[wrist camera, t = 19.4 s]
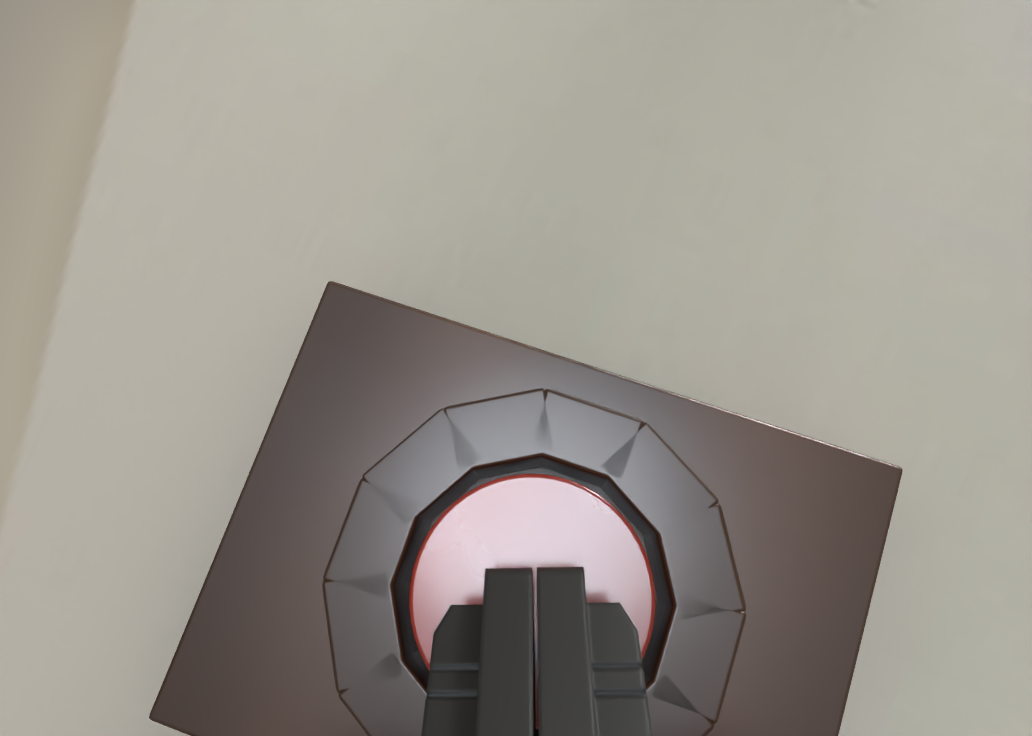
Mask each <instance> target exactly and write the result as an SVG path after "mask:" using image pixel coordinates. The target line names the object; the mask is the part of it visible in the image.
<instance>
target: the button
mask: <svg viewBox="0 0 1032 736" xmlns="http://www.w3.org/2000/svg"><path fill="white" fill-rule="evenodd" d="M537 567H583V568H584V575H585V587H586V600H587V603H613V602H620V604H621V605H622V607H623V608H624V610H625V611H626V613H627V614H628V616H629V617H630V619H631V621H632V622H633V624H634V625H635V627H636V628H637V630H638V635H639V642H640V649H641V656H642V659H643V658H644V656H645V653H646V650H647V647H648V645H649V642H650V639H651V634H652V630H653V626H654V618H655V608H656V603H655V586H654V580H653V574H652V570H651V567H650V563H649V560H648V557H647V554H646V552H645V550H644V547H643V545H642V543H641V541H640V539H639V538H638V536H637V534H636V533H635V531H634V529H633V528H632V526H631V525H630V524H629V522H628V521H627V520H626V519H625V517H624V516H623V515H622V514H621V513H620V512H619V511H618V510H617V509H616V508H615V507H614V506H613V505H612V504H611V503H610V502H608V501H607V500H606V499H604V498H603V497H602V496H600V495H599V494H598V493H596V492H594V491H592V490H591V489H589V488H587V487H586V486H583V485H581V484H579V483H576V482H574V481H571V480H568V479H565V478H561V477H557V476H552V475H544V474H519V475H511V476H506V477H502V478H499V479H495V480H492V481H490V482H487V483H485V484H482V485H480V486H478V487H476V488H474V489H473V490H471V491H469V492H467V493H466V494H464V495H463V496H462V497H460V498H459V499H458V500H456V501H455V502H454V503H453V504H452V505H451V506H450V507H449V508H448V509H446V510H445V511H444V512H443V513H442V514H441V516H440V517H439V518H438V520H437V521H436V522H435V523H434V525H433V526H432V527H431V529H430V531H429V532H428V534H427V536H426V537H425V539H424V541H423V543H422V545H421V548H420V550H419V552H418V554H417V557H416V560H415V564H414V567H413V571H412V576H411V582H410V590H409V610H410V621H411V626H412V630H413V635H414V639H415V641H416V644H417V647H418V650H419V653H420V655H421V657H422V659H423V661H424V663H425V665H426V667H427V668H428V670H429V671H430V658H431V650H432V642H433V633H434V632H435V630H436V628H437V627H438V625H439V623H440V622H441V620H442V618H443V617H444V615H445V613H446V612H447V610H448V609H449V607H450V605H475V604H483V594H484V578H485V569H486V568H532V570H533V603H534V639H535V713H536V729H537V730H539V711H538V638H537Z"/></svg>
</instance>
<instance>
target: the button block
mask: <svg viewBox="0 0 1032 736" xmlns="http://www.w3.org/2000/svg"><path fill="white" fill-rule="evenodd" d="M519 474H544V475H552V476H557V477H561V478H565V479H568V480H571V481H574V482H576V483H579V484H581V485H583V486H586V487H587V488H589V489H591V490H592V491H594V492H596V493H598V494H599V495H600V496H602V497H603V498H604V499H606V500H607V501H608V502H610V503H611V504H612V505H613V506H614V507H615V508H616V509H617V510H618V511H619V512H620V513H621V514H622V515H623V516H624V517H625V519H626V520H627V521H628V522H629V524H630V525H631V526H632V528H633V529H634V531H635V533H636V534H637V536H638V538H639V539H640V541H641V543H642V545H643V547H644V550H645V552H646V554H647V557H648V560H649V563H650V567H651V570H652V574H653V580H654V586H655V603H656V608H655V618H654V626H653V630H652V634H651V639H650V642H649V645H648V647H647V650H646V653H645V656H644V658H643V659H642V665H643V670H644V677H645V684H646V695H647V698H648V705H649V712H650V719H651V726H652V733H653V736H838V734H839V730H840V726H841V722H842V717H843V713H844V709H845V705H846V701H847V697H848V693H849V689H850V685H851V681H852V676H853V672H854V668H855V664H856V660H857V656H858V652H859V648H860V644H861V639H862V635H863V631H864V627H865V623H866V619H867V615H868V611H869V607H870V603H871V598H872V594H873V590H874V586H875V582H876V578H877V574H878V570H879V566H880V561H881V557H882V553H883V549H884V545H885V541H886V537H887V533H888V529H889V525H890V520H891V516H892V512H893V508H894V504H895V500H896V496H897V492H898V488H899V483H900V479H901V475H902V468H900V467H899V466H896V465H893V464H890V463H887V462H884V461H881V460H878V459H874V458H871V457H868V456H865V455H862V454H859V453H856V452H853V451H850V450H847V449H844V448H841V447H838V446H835V445H832V444H829V443H826V442H822V441H819V440H816V439H813V438H810V437H807V436H804V435H801V434H798V433H795V432H792V431H789V430H786V429H783V428H780V427H777V426H773V425H770V424H767V423H764V422H761V421H758V420H755V419H752V418H749V417H746V416H743V415H740V414H737V413H734V412H731V411H728V410H725V409H721V408H718V407H715V406H712V405H709V404H706V403H703V402H700V401H697V400H694V399H691V398H688V397H685V396H682V395H679V394H676V393H673V392H669V391H666V390H663V389H660V388H657V387H654V386H651V385H648V384H645V383H642V382H639V381H636V380H633V379H630V378H627V377H624V376H621V375H617V374H614V373H611V372H608V371H605V370H602V369H599V368H596V367H593V366H590V365H587V364H584V363H581V362H578V361H575V360H572V359H568V358H565V357H562V356H559V355H556V354H553V353H550V352H547V351H544V350H541V349H538V348H535V347H532V346H529V345H526V344H523V343H520V342H516V341H513V340H510V339H507V338H504V337H501V336H498V335H495V334H492V333H489V332H486V331H483V330H480V329H477V328H474V327H471V326H468V325H464V324H461V323H458V322H455V321H452V320H449V319H446V318H443V317H440V316H437V315H434V314H431V313H428V312H425V311H422V310H419V309H415V308H412V307H409V306H406V305H403V304H400V303H397V302H394V301H391V300H388V299H385V298H382V297H379V296H376V295H373V294H370V293H367V292H363V291H360V290H357V289H354V288H351V287H348V286H345V285H342V284H339V283H336V282H333V281H330V282H328V284H327V286H326V288H325V291H324V293H323V295H322V298H321V300H320V303H319V305H318V308H317V310H316V312H315V315H314V317H313V320H312V322H311V325H310V327H309V329H308V332H307V334H306V337H305V339H304V342H303V344H302V346H301V349H300V351H299V354H298V356H297V359H296V361H295V363H294V366H293V368H292V371H291V373H290V376H289V378H288V380H287V383H286V385H285V388H284V390H283V393H282V395H281V397H280V400H279V402H278V405H277V407H276V409H275V412H274V414H273V417H272V419H271V422H270V424H269V426H268V429H267V431H266V434H265V436H264V439H263V441H262V443H261V446H260V448H259V451H258V453H257V456H256V458H255V460H254V463H253V465H252V468H251V470H250V473H249V475H248V477H247V480H246V482H245V485H244V487H243V490H242V492H241V494H240V497H239V499H238V502H237V504H236V507H235V509H234V511H233V514H232V516H231V519H230V521H229V523H228V526H227V528H226V531H225V533H224V536H223V538H222V540H221V543H220V545H219V548H218V550H217V553H216V555H215V557H214V560H213V562H212V565H211V567H210V570H209V572H208V574H207V577H206V579H205V582H204V584H203V587H202V589H201V591H200V594H199V596H198V599H197V601H196V604H195V606H194V608H193V611H192V613H191V616H190V618H189V621H188V623H187V625H186V628H185V630H184V633H183V635H182V637H181V640H180V642H179V645H178V647H177V650H176V652H175V654H174V657H173V659H172V662H171V664H170V667H169V669H168V671H167V674H166V676H165V679H164V681H163V684H162V686H161V688H160V691H159V693H158V696H157V698H156V701H155V703H154V705H153V708H152V710H151V713H150V716H149V718H150V719H151V720H152V721H155V722H157V723H160V724H162V725H165V726H167V727H170V728H173V729H175V730H178V731H180V732H183V733H185V734H188V735H190V736H421V733H422V725H423V717H424V708H425V700H426V697H427V693H426V692H427V683H428V675H429V672H430V671H429V670H428V668H427V667H426V665H425V663H424V661H423V659H422V657H421V655H420V653H419V650H418V647H417V644H416V641H415V639H414V635H413V630H412V626H411V621H410V610H409V590H410V582H411V576H412V571H413V567H414V564H415V560H416V557H417V554H418V552H419V550H420V548H421V545H422V543H423V541H424V539H425V537H426V536H427V534H428V532H429V531H430V529H431V527H432V526H433V525H434V523H435V522H436V521H437V520H438V518H439V517H440V516H441V514H442V513H443V512H444V511H445V510H446V509H448V508H449V507H450V506H451V505H452V504H453V503H454V502H455V501H456V500H458V499H459V498H460V497H462V496H463V495H464V494H466V493H467V492H469V491H471V490H473V489H474V488H476V487H478V486H480V485H482V484H485V483H487V482H490V481H492V480H495V479H499V478H502V477H506V476H511V475H519ZM536 736H539V730H537V729H536Z"/></svg>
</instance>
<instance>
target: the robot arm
mask: <svg viewBox="0 0 1032 736" xmlns="http://www.w3.org/2000/svg"><path fill="white" fill-rule="evenodd" d="M537 638H538V711H539V736H653V733H652V726H651V719H650V712H649V705H648V698H647V695H646V684H645V677H644V670H643V665H642V656H641V649H640V642H639V635H638V630H637V628H636V627H635V625H634V624H633V622H632V621H631V619H630V617H629V616H628V614H627V613H626V611H625V610H624V608H623V607H622V605H621V604H620V602H613V603H587V600H586V587H585V575H584V568H583V567H537ZM426 693H427V697H426V700H425V708H424V717H423V725H422V733H421V736H536V713H535V639H534V603H533V570H532V568H486V569H485V578H484V594H483V604H475V605H450V607H449V609H448V610H447V612H446V613H445V615H444V617H443V618H442V620H441V622H440V623H439V625H438V627H437V628H436V630H435V632H434V633H433V642H432V650H431V658H430V672H429V675H428V683H427V692H426Z"/></svg>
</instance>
